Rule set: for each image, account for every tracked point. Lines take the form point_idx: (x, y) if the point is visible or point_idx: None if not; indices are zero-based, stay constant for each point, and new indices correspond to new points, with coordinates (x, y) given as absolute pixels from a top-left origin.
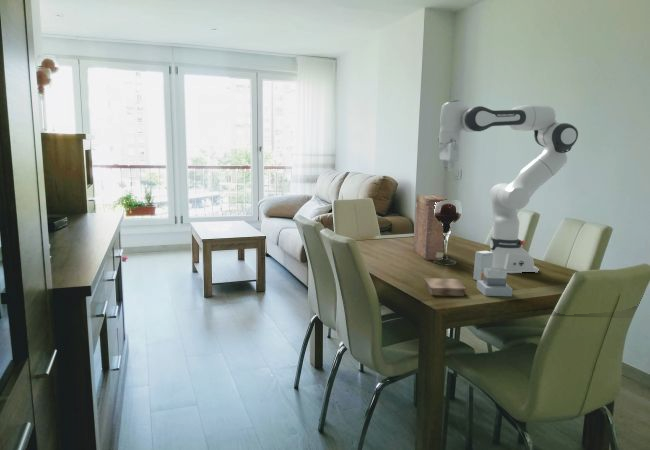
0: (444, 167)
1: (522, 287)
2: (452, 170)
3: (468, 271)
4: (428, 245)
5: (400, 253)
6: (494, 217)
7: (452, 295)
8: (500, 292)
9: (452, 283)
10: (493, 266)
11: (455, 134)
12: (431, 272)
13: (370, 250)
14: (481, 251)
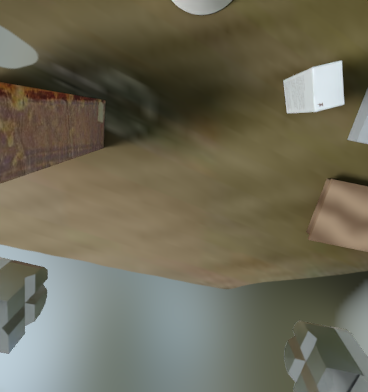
0: (15, 336)
1: None
2: (351, 343)
3: (220, 88)
4: (89, 146)
5: (37, 182)
6: None
7: None
8: None
9: (359, 203)
10: (218, 4)
11: None
12: (216, 180)
13: (13, 238)
14: (319, 92)
